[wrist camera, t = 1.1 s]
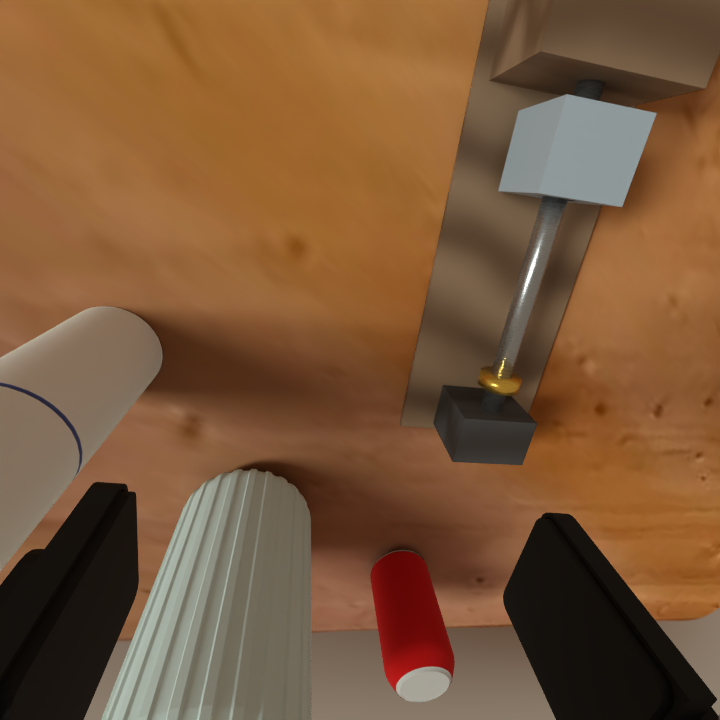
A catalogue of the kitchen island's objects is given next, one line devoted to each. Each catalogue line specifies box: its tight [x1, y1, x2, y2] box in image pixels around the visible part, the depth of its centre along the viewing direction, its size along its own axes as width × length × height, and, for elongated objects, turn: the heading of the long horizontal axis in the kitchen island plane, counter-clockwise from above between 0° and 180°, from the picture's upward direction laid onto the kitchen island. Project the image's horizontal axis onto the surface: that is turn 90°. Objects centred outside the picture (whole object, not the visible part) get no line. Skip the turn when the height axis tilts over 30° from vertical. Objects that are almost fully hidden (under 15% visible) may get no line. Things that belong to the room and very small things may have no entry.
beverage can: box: [371, 550, 454, 702], centre depth 39 cm, size 6×6×12 cm
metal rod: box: [477, 79, 605, 413], centre depth 29 cm, size 26×3×3 cm, turn 172°
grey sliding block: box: [498, 94, 657, 207], centre depth 26 cm, size 5×6×6 cm
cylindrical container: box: [0, 306, 163, 571], centre depth 20 cm, size 7×7×25 cm
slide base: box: [400, 0, 720, 465], centre depth 29 cm, size 32×12×7 cm, turn 172°
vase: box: [101, 469, 312, 720], centre depth 29 cm, size 12×12×22 cm
